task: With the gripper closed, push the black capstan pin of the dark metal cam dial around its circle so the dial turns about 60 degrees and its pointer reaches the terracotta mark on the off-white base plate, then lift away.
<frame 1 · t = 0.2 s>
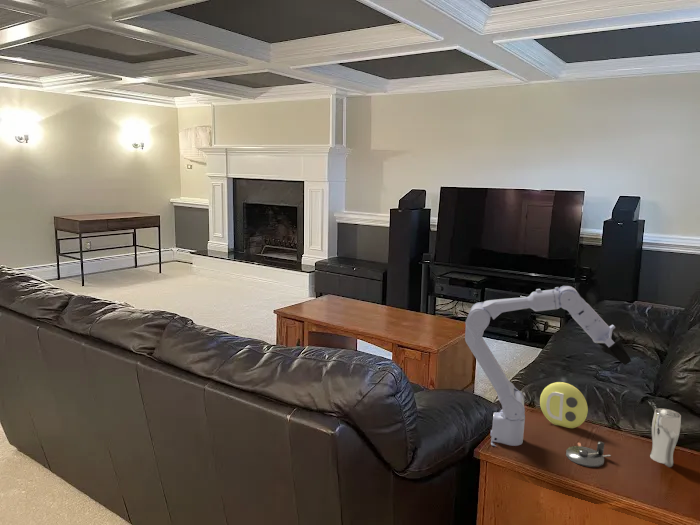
hand: (624, 358, 152), 31 cm above the table, tool tilted 45°, fingers open, 7 cm apart
base plate: (581, 457, 158), on the table
emoji: (560, 427, 177), on the table
beer glass: (660, 462, 157), on the table
cam dial: (586, 450, 156), point 3 cm above the table, hinge at 0.0°
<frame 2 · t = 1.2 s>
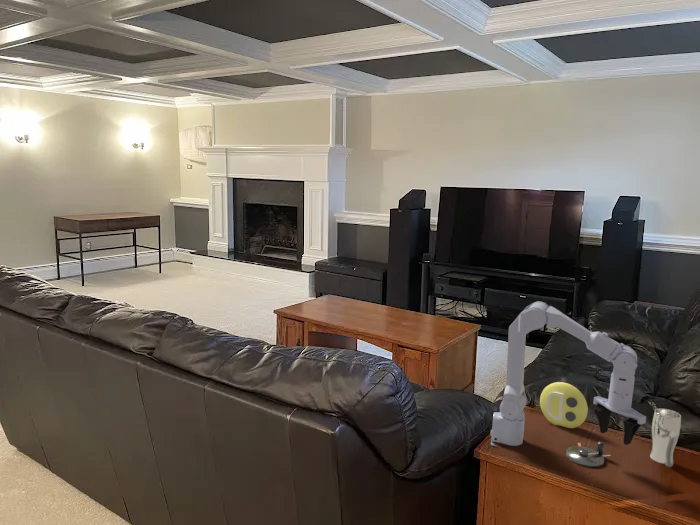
hand: (615, 437, 151), 9 cm above the table, tool pointing down, fingers open, 7 cm apart
nothing on the table moved.
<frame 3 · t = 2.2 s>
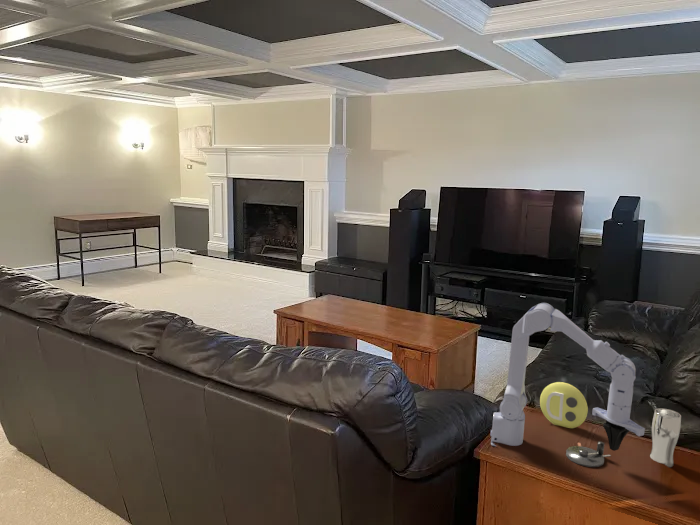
hand: (614, 449, 151), 6 cm above the table, tool pointing down, fingers closed
nothing on the table moved.
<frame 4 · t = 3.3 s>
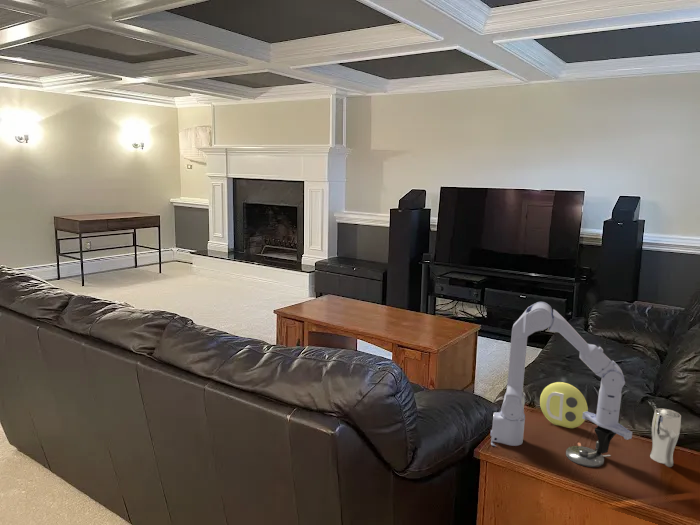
hand: (603, 452, 156), 3 cm above the table, tool pointing down, fingers closed
cam dial: (586, 450, 156), point 3 cm above the table, hinge at 6.1°, touching gripper
everything else where it was.
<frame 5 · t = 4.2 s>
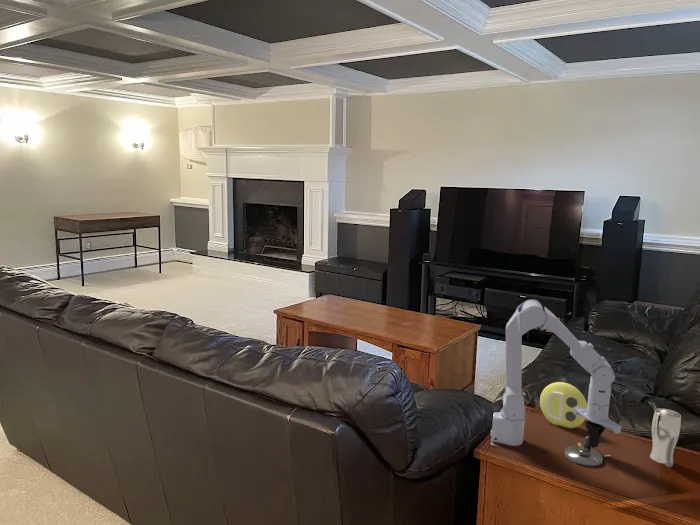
hand: (593, 446, 159), 3 cm above the table, tool pointing down, fingers closed, pressing on cam dial
cam dial: (584, 449, 156), point 3 cm above the table, hinge at 40.8°, touching gripper
everything else where it was.
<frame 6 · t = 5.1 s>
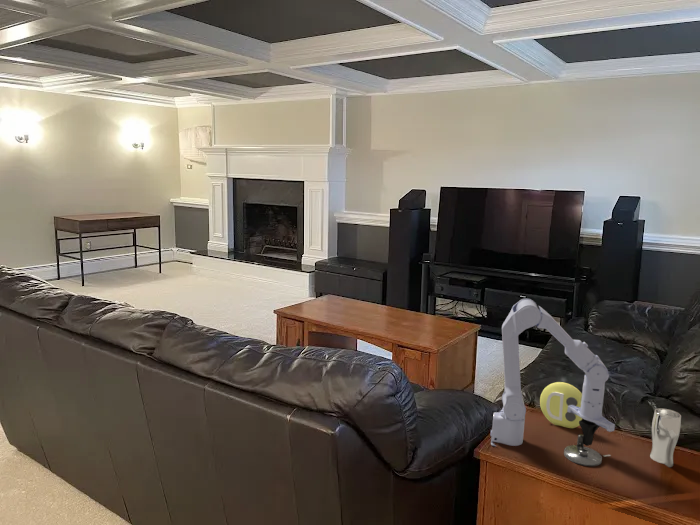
hand: (587, 444, 160), 3 cm above the table, tool pointing down, fingers closed, pressing on cam dial
cam dial: (583, 449, 156), point 3 cm above the table, hinge at 62.2°, touching gripper
everything else where it was.
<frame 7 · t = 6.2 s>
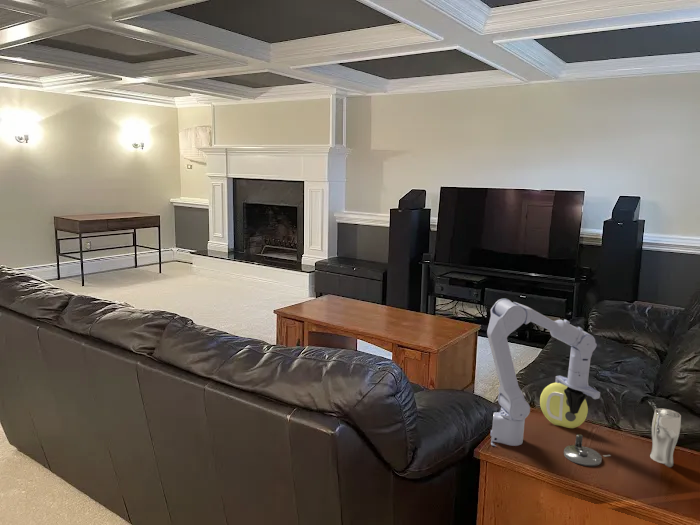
hand: (573, 412, 166), 9 cm above the table, tool pointing down, fingers closed
cam dial: (582, 449, 156), point 3 cm above the table, hinge at 67.4°
everything else where it was.
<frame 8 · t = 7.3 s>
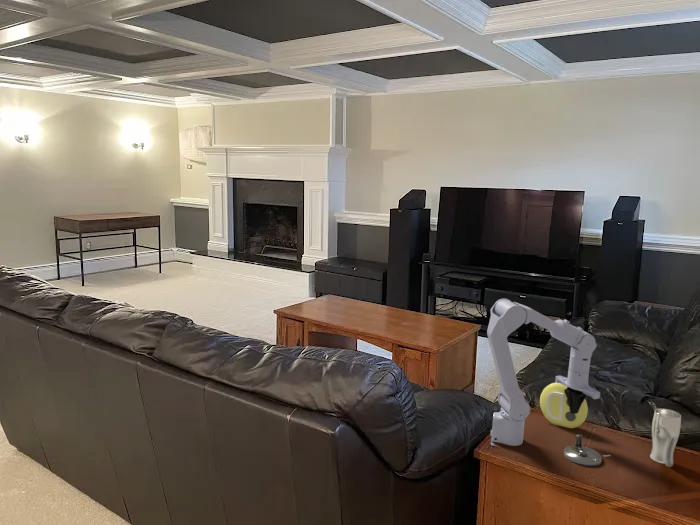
hand: (573, 412, 166), 9 cm above the table, tool pointing down, fingers closed
nothing on the table moved.
at the end: cam dial at +67° (first picture: +0°); beer glass moved 0.2 cm from its start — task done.
